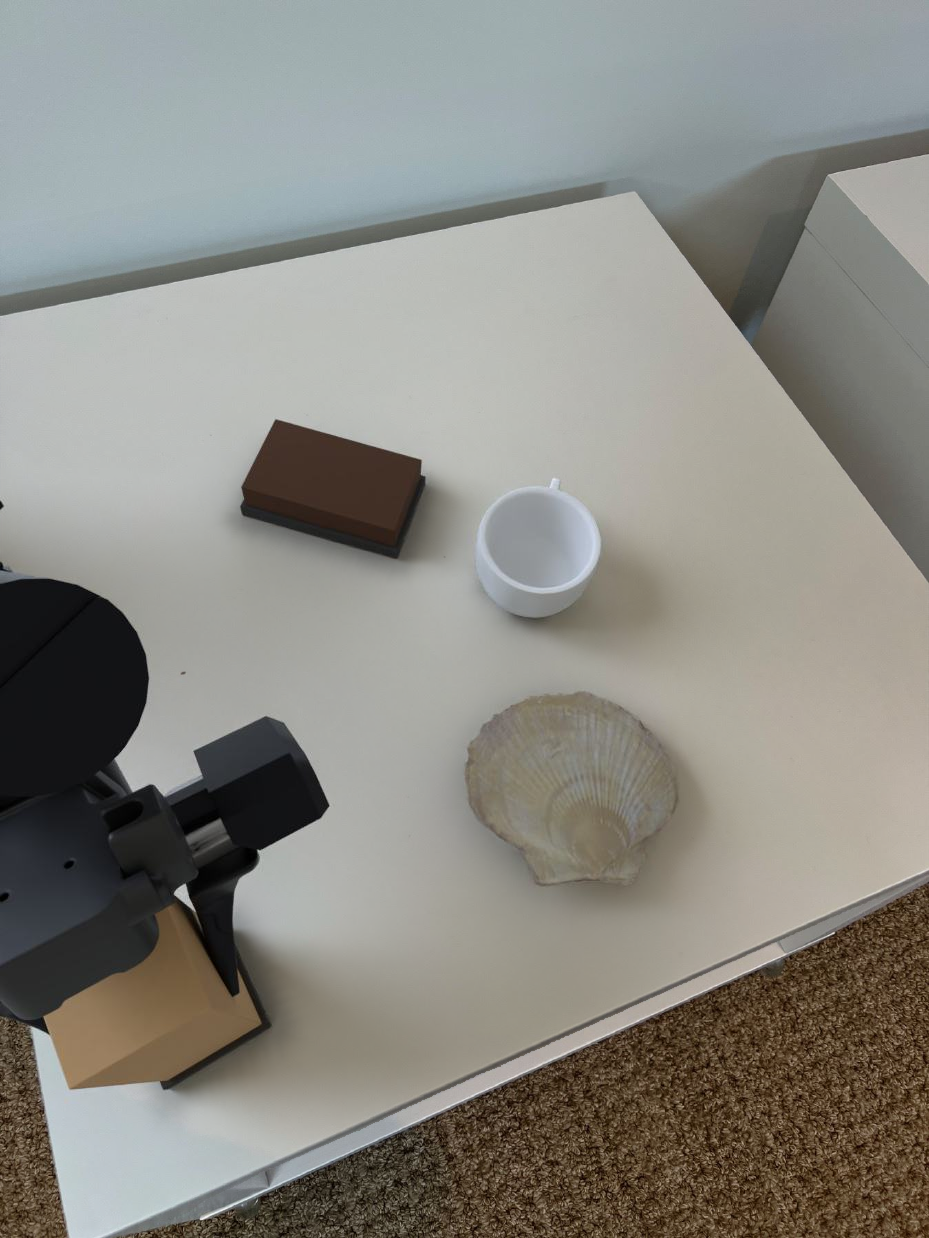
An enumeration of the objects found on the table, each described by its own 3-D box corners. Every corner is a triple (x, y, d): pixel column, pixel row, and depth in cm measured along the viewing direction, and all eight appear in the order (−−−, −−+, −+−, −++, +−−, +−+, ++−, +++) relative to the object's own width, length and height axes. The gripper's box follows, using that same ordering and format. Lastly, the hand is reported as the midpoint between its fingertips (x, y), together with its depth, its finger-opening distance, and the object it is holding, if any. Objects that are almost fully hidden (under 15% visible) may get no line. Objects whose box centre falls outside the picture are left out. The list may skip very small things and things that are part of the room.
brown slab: (241, 515, 58) (234, 488, 56) (277, 443, 61) (272, 414, 59) (397, 559, 58) (397, 535, 55) (425, 484, 61) (427, 457, 58)
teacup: (570, 647, 56) (588, 608, 51) (456, 615, 56) (463, 573, 51) (600, 524, 60) (619, 478, 56) (495, 495, 61) (504, 447, 56)
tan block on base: (167, 1089, 43) (63, 1104, 28) (125, 983, 45) (8, 947, 30) (272, 1026, 44) (223, 1011, 30) (227, 927, 46) (162, 868, 32)
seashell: (550, 664, 55) (558, 644, 53) (700, 786, 52) (716, 771, 50) (427, 796, 51) (429, 781, 48) (583, 937, 48) (594, 930, 45)
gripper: (-421, 995, 21) (-82, 1356, 27) (284, 666, 27) (439, 1024, 32) (-268, 803, 31) (-44, 1098, 37) (223, 592, 36) (351, 877, 42)
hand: (175, 1023), depth 37 cm, fingers closed on tan block on base, 5 cm apart
